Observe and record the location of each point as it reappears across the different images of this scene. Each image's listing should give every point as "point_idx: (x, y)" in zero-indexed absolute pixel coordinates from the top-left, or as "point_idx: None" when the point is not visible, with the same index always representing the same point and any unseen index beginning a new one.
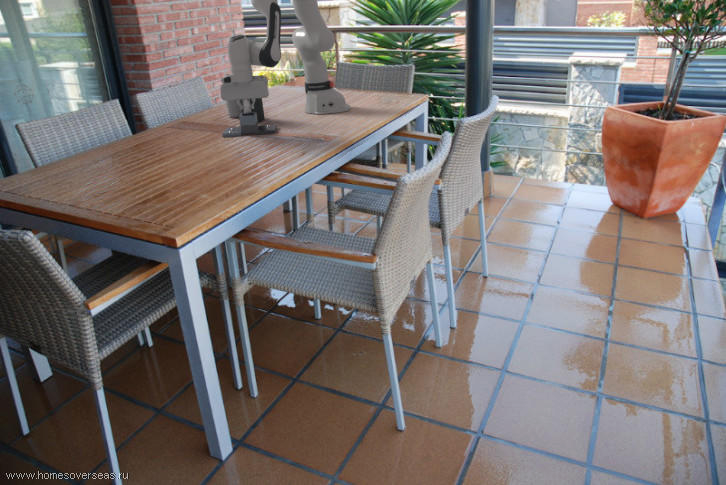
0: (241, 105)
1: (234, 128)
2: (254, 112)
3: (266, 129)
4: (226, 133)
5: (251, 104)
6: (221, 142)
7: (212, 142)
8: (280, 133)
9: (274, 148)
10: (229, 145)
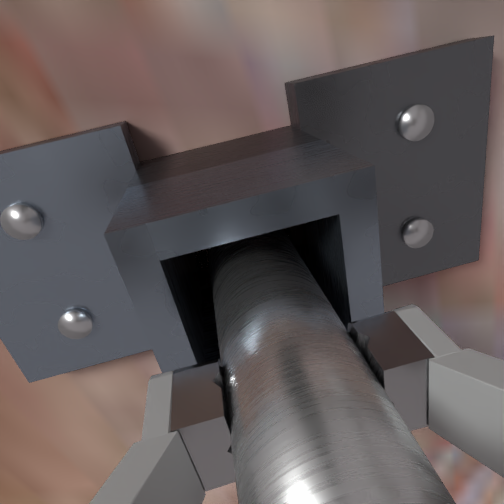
0: (189, 456)
1: (39, 204)
2: (349, 201)
3: (406, 244)
4: (67, 371)
5: (413, 364)
6: (117, 461)
7: (45, 469)
8: (497, 245)
9: (466, 495)
10: (208, 496)
